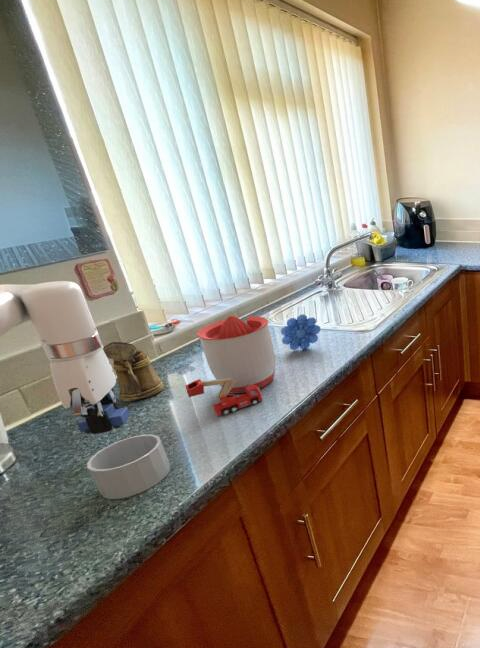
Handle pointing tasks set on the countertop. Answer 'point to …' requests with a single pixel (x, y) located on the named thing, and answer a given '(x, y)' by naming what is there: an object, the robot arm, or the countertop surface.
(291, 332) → the blue flower
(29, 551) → the countertop surface
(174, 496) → the countertop surface
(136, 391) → the wooden mug
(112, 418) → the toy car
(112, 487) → the grey bowl
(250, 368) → the citrus juicer
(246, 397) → the toy fire truck
